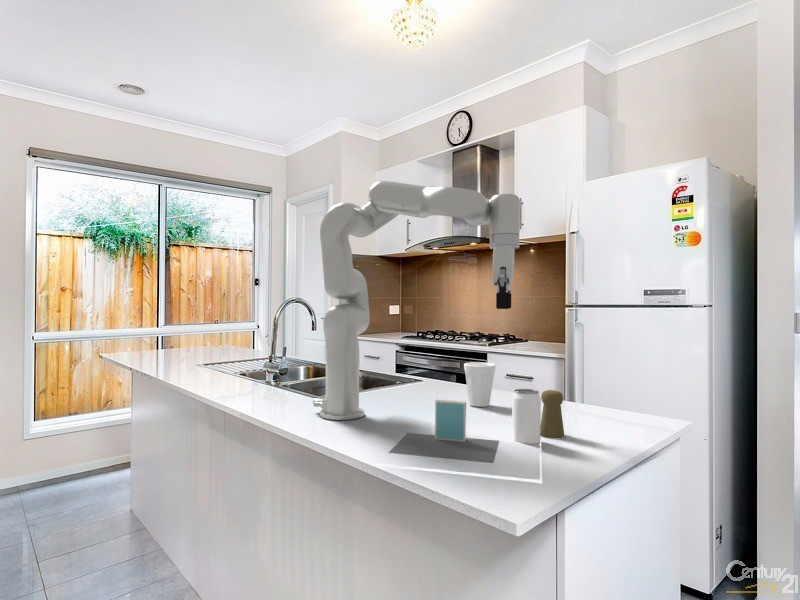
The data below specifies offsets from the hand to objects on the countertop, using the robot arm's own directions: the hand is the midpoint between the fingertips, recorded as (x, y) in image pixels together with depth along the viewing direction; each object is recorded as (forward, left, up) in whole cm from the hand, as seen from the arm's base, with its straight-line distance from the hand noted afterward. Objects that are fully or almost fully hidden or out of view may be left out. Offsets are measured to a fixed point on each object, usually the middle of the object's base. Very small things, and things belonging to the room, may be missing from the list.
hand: (503, 308), depth 127 cm
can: (+6, -11, -31) cm, 34 cm away
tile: (-11, -16, -31) cm, 36 cm away
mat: (-11, -22, -31) cm, 40 cm away
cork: (+12, -3, -31) cm, 34 cm away
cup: (-9, +25, -31) cm, 41 cm away
